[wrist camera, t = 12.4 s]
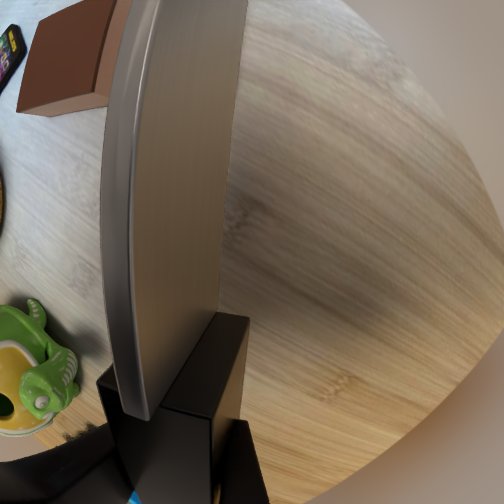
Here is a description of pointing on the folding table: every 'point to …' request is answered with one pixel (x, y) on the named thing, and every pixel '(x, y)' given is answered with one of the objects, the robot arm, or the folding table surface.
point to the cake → (73, 58)
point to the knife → (171, 248)
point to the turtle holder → (32, 372)
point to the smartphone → (10, 52)
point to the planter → (1, 200)
